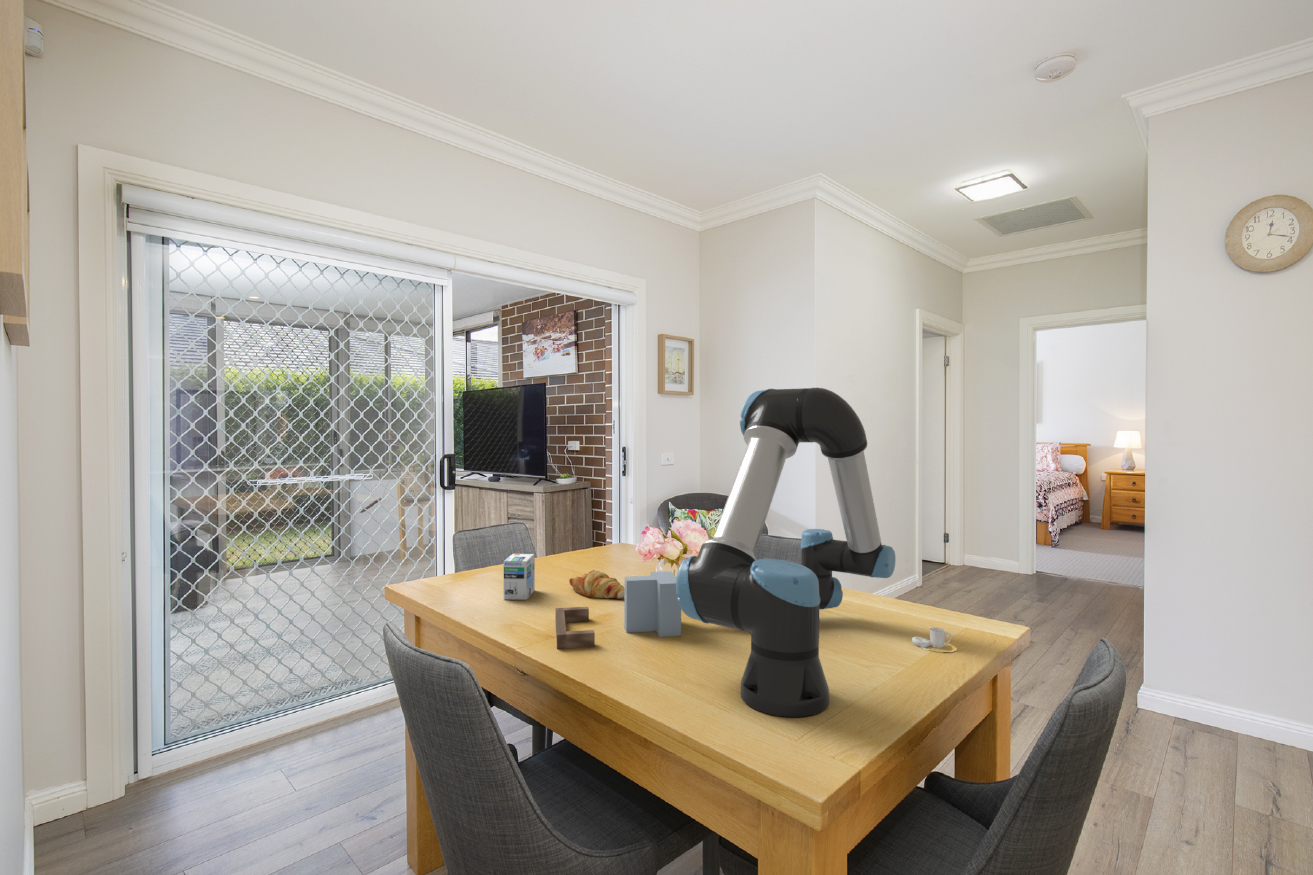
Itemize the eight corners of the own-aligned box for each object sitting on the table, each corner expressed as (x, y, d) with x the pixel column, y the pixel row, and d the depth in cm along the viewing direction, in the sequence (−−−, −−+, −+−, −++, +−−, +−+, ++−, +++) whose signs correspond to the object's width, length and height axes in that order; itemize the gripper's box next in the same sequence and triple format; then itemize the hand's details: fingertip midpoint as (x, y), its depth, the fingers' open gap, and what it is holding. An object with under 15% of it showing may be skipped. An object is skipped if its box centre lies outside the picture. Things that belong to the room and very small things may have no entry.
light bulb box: (527, 600, 170) (527, 561, 170) (502, 600, 170) (502, 560, 170) (535, 590, 181) (535, 553, 180) (512, 590, 181) (512, 553, 181)
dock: (588, 618, 154) (588, 606, 154) (594, 646, 134) (594, 632, 134) (555, 620, 152) (555, 608, 152) (557, 648, 132) (557, 634, 132)
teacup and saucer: (907, 647, 135) (908, 629, 135) (921, 638, 141) (921, 620, 141) (950, 658, 129) (950, 638, 129) (962, 648, 135) (962, 629, 135)
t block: (670, 619, 153) (670, 571, 153) (681, 635, 141) (681, 583, 141) (622, 621, 151) (622, 572, 151) (628, 638, 139) (629, 585, 139)
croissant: (632, 610, 173) (641, 582, 176) (613, 600, 165) (622, 571, 168) (575, 596, 185) (584, 570, 188) (555, 587, 177) (564, 560, 180)
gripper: (788, 618, 145) (690, 623, 141) (769, 602, 158) (678, 607, 154) (789, 586, 145) (690, 590, 141) (769, 573, 158) (678, 577, 154)
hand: (684, 599), depth 148 cm, fingers closed
